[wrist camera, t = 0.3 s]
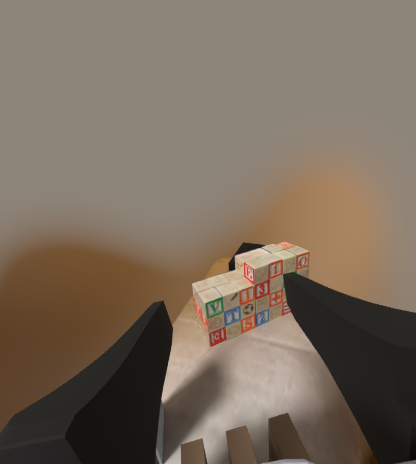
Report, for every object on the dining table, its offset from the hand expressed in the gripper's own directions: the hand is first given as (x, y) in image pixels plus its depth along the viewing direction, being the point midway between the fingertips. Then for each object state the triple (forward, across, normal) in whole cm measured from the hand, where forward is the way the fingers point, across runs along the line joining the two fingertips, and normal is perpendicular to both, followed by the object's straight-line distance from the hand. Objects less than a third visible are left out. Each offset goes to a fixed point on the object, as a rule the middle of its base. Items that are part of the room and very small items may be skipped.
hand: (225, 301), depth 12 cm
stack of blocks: (+23, -4, +21) cm, 31 cm away
